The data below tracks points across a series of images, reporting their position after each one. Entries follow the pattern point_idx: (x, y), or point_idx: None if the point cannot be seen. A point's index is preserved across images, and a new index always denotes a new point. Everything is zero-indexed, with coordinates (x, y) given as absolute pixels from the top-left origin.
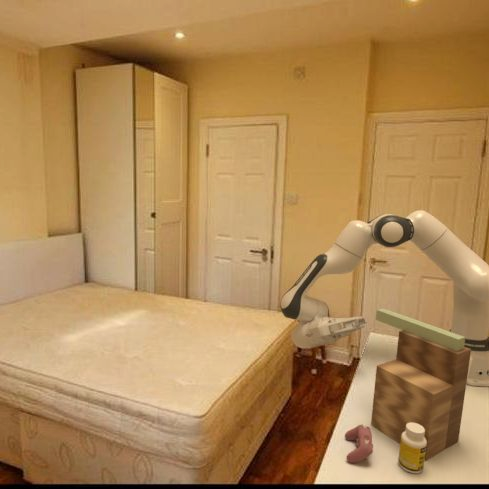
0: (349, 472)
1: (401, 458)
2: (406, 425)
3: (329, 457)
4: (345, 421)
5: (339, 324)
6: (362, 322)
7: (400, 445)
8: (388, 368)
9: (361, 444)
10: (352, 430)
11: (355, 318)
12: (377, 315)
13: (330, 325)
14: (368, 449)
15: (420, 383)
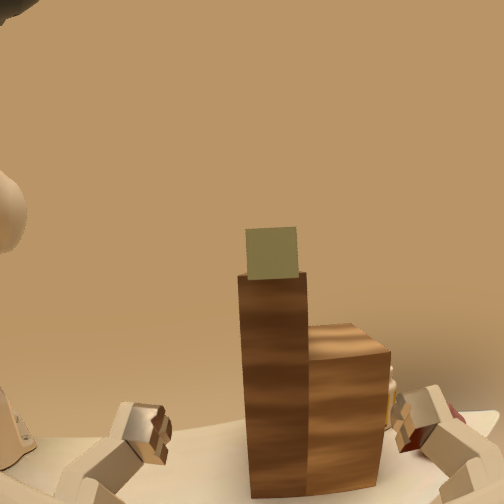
0: (466, 420)
1: None
2: (390, 370)
3: (487, 434)
4: (427, 497)
5: (442, 403)
6: (166, 430)
7: (394, 400)
8: (369, 346)
9: (450, 404)
10: None
11: (62, 500)
12: (296, 253)
13: (500, 453)
14: None
15: (345, 330)
